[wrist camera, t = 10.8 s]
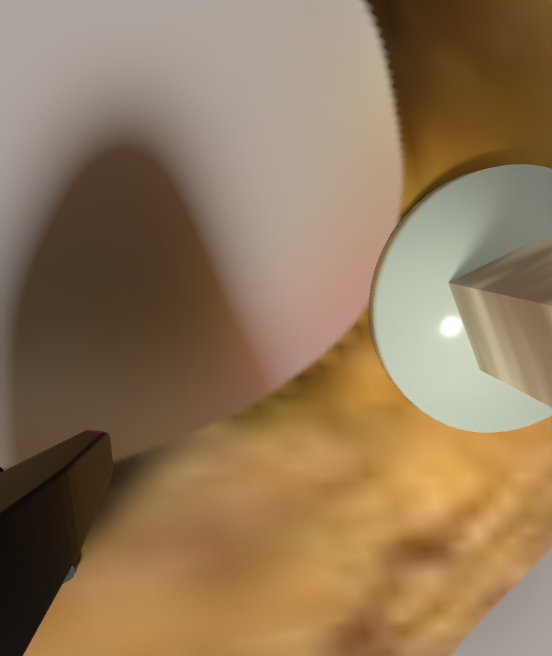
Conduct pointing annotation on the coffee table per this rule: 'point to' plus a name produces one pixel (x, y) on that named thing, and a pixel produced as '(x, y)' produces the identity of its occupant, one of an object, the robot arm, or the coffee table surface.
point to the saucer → (437, 300)
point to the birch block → (511, 317)
